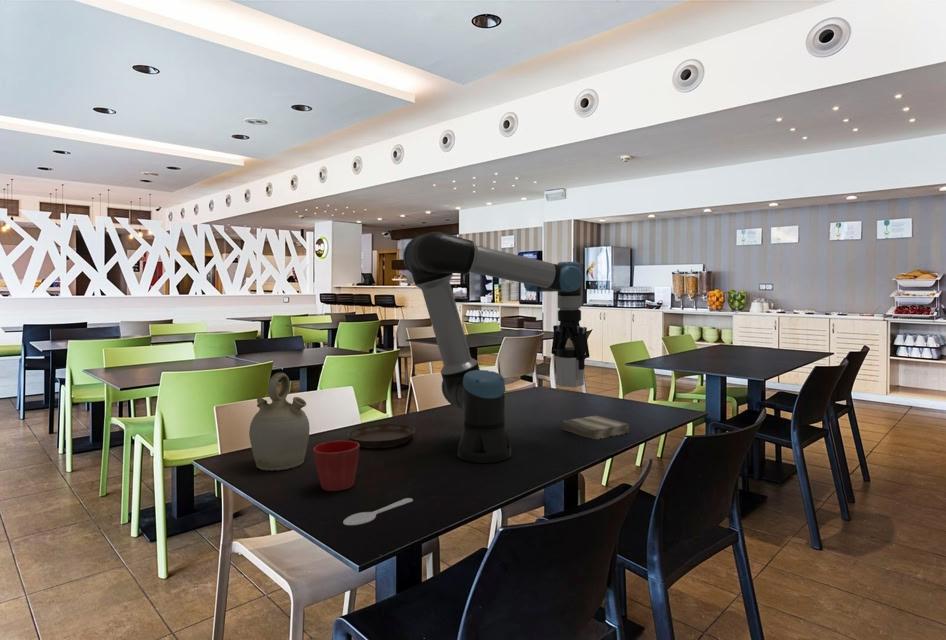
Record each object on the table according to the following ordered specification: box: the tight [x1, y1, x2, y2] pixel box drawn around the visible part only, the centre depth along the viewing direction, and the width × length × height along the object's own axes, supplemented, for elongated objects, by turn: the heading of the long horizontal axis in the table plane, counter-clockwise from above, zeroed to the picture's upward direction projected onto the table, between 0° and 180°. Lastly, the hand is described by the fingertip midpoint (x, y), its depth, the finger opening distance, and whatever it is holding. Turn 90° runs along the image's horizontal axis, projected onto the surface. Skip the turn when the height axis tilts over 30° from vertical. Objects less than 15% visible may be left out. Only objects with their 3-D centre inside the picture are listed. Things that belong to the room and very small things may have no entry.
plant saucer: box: [347, 423, 416, 449], centre depth 173 cm, size 21×21×3 cm
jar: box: [555, 346, 585, 388], centre depth 183 cm, size 9×8×12 cm
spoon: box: [342, 497, 414, 526], centre depth 118 cm, size 5×18×1 cm, turn 138°
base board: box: [562, 414, 630, 441], centre depth 183 cm, size 15×15×3 cm
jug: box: [248, 372, 310, 472], centre depth 150 cm, size 15×16×25 cm
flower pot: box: [313, 440, 361, 492], centre depth 133 cm, size 11×11×10 cm
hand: (570, 377), depth 183 cm, fingers closed on jar, 9 cm apart
